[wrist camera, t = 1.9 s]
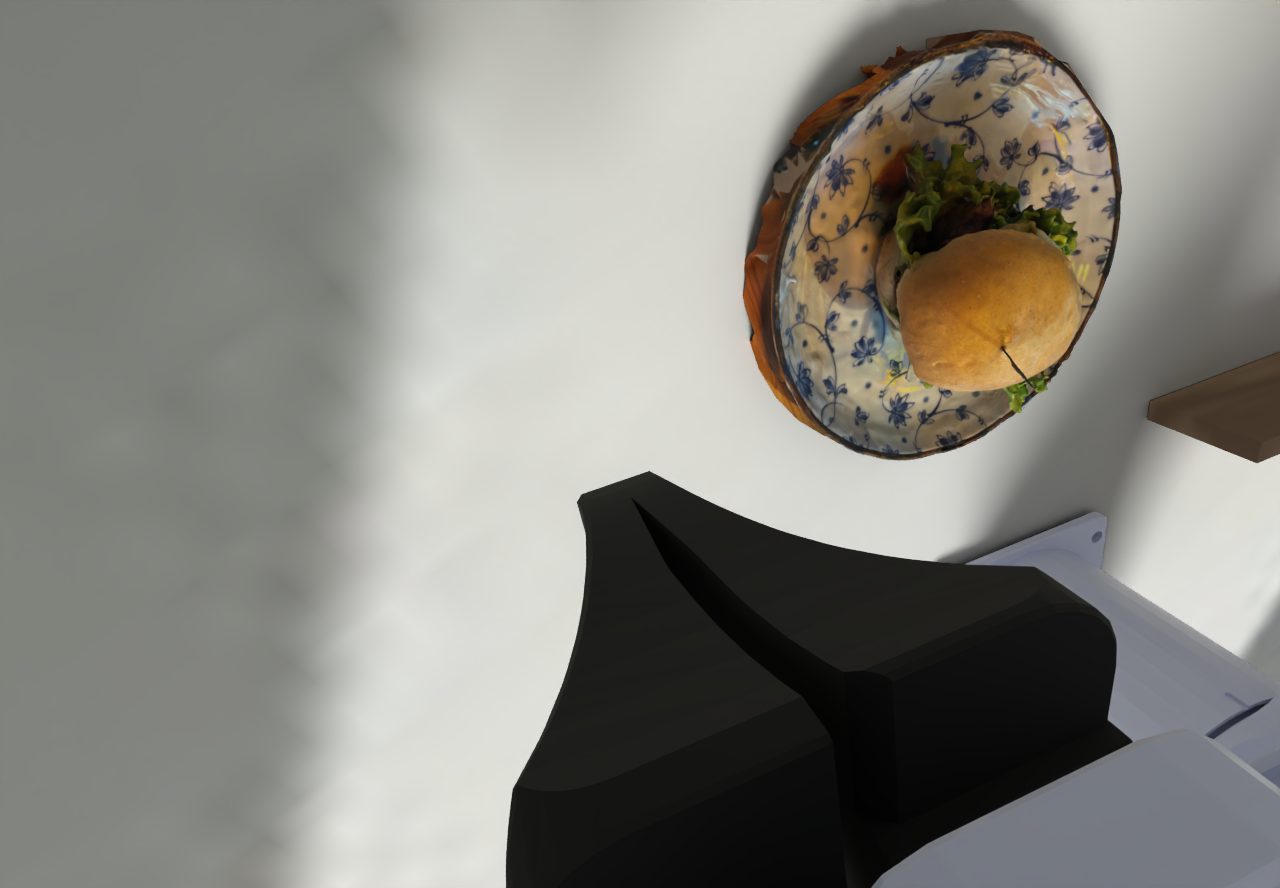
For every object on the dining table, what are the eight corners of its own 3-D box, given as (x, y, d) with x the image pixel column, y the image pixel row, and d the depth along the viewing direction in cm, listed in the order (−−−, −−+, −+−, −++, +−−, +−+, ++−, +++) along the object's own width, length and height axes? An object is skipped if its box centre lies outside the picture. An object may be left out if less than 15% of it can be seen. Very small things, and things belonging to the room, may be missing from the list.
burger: (1041, 403, 26) (1261, 498, 20) (744, 477, 23) (885, 618, 17) (1107, 20, 21) (1438, -23, 14) (731, 54, 18) (932, 22, 11)
